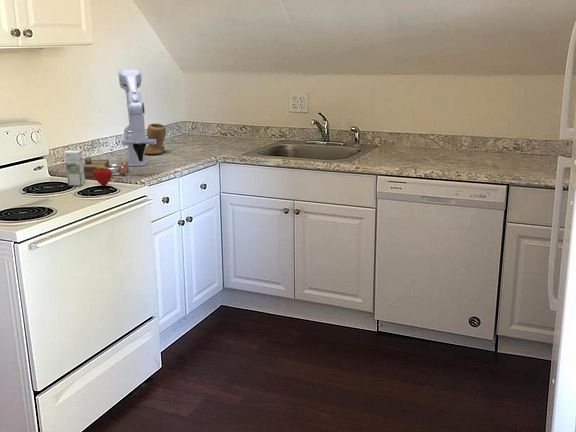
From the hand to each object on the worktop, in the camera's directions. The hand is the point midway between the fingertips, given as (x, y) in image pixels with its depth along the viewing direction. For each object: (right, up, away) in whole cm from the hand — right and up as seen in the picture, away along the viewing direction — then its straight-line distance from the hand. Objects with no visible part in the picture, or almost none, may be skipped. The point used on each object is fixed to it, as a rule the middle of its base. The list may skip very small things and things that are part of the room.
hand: (140, 160), depth 282 cm
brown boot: (-3, +8, +49) cm, 50 cm away
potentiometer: (-24, -1, +2) cm, 24 cm away
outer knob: (-13, -6, +1) cm, 14 cm away
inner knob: (-13, -4, +7) cm, 16 cm away
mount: (-21, -6, +4) cm, 22 cm away
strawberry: (-11, -12, -17) cm, 24 cm away
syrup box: (-24, -11, -13) cm, 29 cm away
